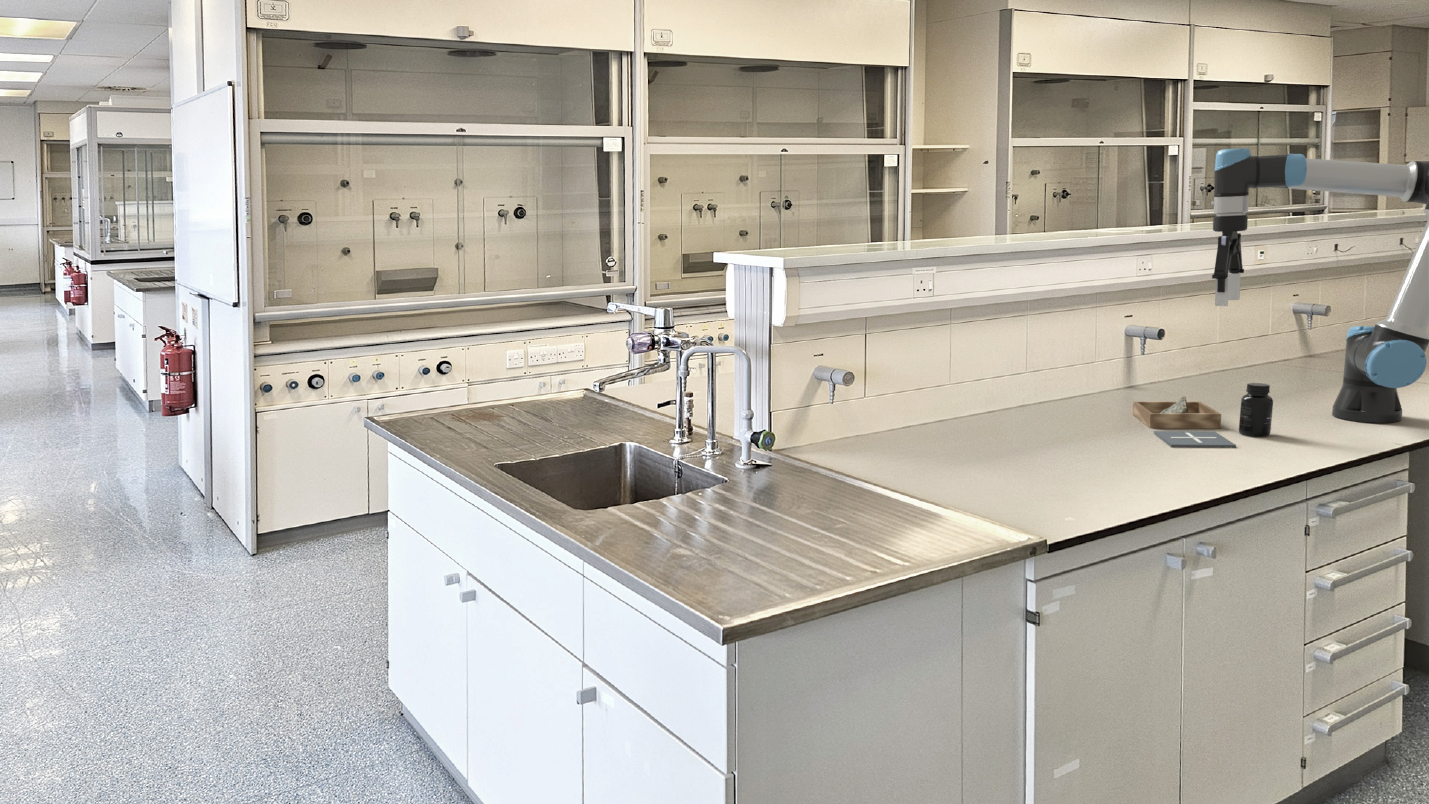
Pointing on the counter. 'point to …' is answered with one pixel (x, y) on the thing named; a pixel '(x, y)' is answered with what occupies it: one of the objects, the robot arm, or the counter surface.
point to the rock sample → (1178, 407)
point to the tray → (1176, 415)
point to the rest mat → (1194, 439)
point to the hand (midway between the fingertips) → (1227, 303)
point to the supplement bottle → (1256, 411)
